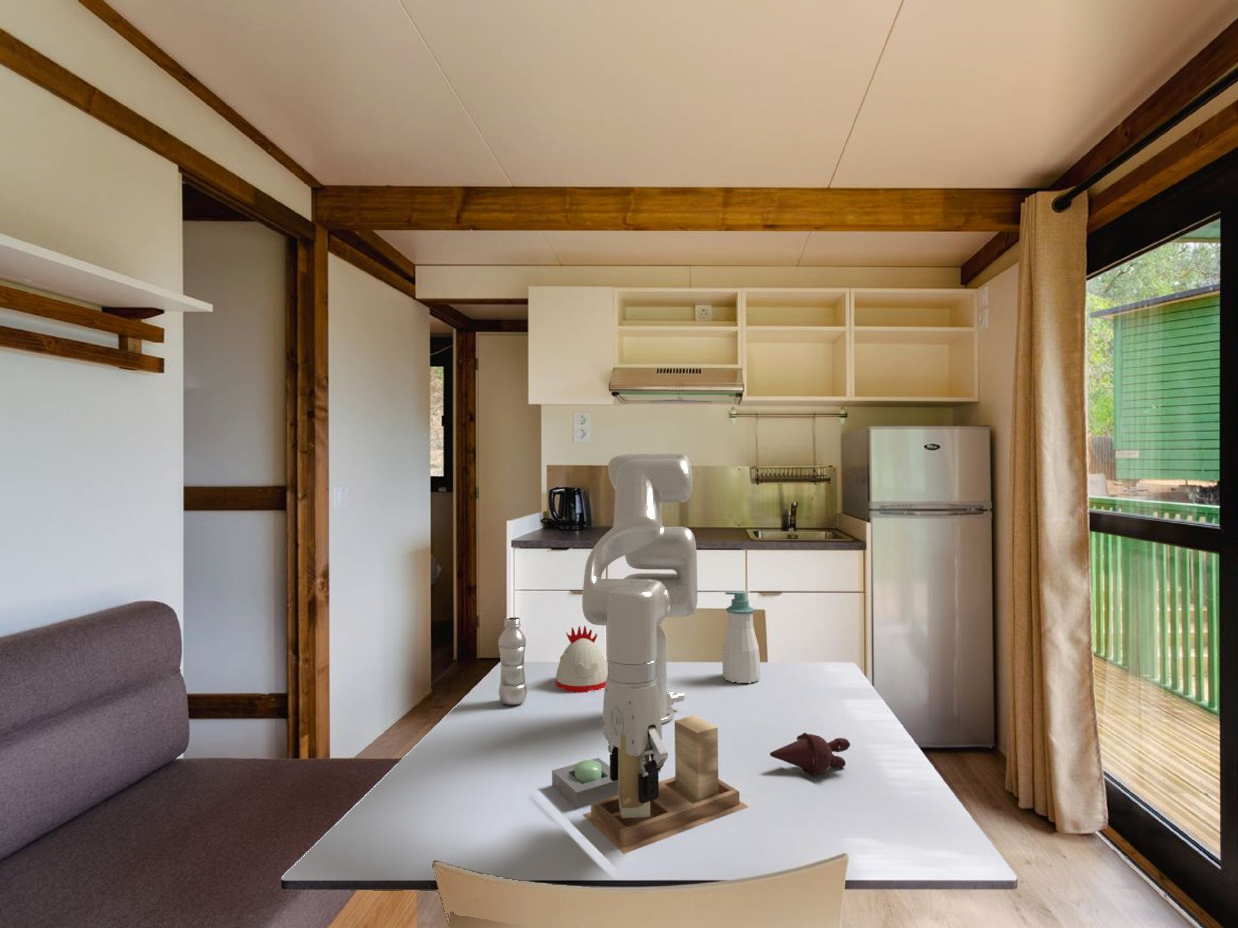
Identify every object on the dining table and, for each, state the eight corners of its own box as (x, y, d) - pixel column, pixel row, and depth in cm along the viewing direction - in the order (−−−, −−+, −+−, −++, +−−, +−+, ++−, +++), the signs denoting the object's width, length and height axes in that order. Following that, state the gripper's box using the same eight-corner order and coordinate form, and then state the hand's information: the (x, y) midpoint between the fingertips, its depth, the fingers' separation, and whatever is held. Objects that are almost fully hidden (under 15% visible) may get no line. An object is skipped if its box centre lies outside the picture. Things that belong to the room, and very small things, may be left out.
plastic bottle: (521, 708, 144) (521, 622, 144) (494, 707, 145) (493, 621, 146) (530, 699, 150) (530, 616, 151) (504, 697, 151) (504, 615, 152)
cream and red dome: (552, 678, 167) (552, 622, 167) (602, 673, 170) (602, 618, 171) (560, 694, 153) (560, 633, 154) (614, 689, 157) (613, 630, 157)
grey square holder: (598, 777, 109) (598, 757, 109) (625, 799, 102) (625, 777, 102) (552, 791, 105) (552, 770, 105) (576, 815, 97) (576, 792, 97)
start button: (593, 778, 106) (593, 757, 106) (606, 789, 102) (606, 767, 103) (570, 785, 104) (570, 764, 104) (582, 796, 100) (582, 774, 100)
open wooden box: (700, 782, 107) (699, 764, 107) (748, 812, 97) (748, 793, 97) (582, 820, 95) (582, 801, 95) (624, 860, 85) (624, 838, 85)
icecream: (782, 750, 105) (862, 750, 108) (765, 723, 112) (840, 723, 115) (775, 786, 106) (854, 784, 109) (758, 757, 113) (833, 756, 116)
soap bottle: (721, 672, 170) (720, 589, 170) (758, 673, 169) (756, 589, 169) (724, 684, 160) (722, 595, 161) (762, 685, 159) (760, 595, 160)
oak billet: (695, 788, 103) (693, 715, 103) (718, 804, 98) (717, 727, 98) (675, 795, 101) (674, 720, 101) (698, 811, 96) (697, 732, 96)
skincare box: (617, 797, 96) (616, 718, 97) (645, 796, 96) (644, 716, 97) (621, 820, 90) (620, 734, 90) (651, 818, 90) (649, 732, 91)
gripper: (583, 660, 99) (584, 772, 99) (643, 690, 84) (645, 822, 84) (623, 653, 103) (624, 761, 103) (687, 680, 88) (689, 807, 88)
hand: (633, 788), depth 93 cm, fingers closed on skincare box, 7 cm apart
